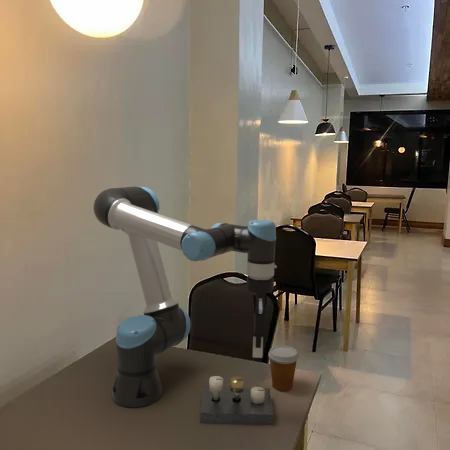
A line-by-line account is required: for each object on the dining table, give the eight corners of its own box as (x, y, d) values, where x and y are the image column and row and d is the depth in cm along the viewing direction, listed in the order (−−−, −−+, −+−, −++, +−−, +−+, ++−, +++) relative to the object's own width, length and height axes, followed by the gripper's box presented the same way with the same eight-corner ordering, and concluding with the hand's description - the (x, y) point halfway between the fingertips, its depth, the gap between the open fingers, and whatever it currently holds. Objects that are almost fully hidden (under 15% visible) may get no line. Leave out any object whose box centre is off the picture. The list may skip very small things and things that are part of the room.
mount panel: (200, 422, 122) (200, 412, 122) (204, 395, 136) (204, 386, 136) (272, 424, 122) (273, 414, 121) (269, 397, 136) (269, 388, 135)
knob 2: (250, 413, 127) (250, 393, 126) (250, 405, 131) (250, 386, 130) (264, 413, 127) (265, 393, 126) (263, 405, 131) (264, 386, 130)
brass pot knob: (229, 402, 127) (229, 382, 126) (229, 395, 131) (230, 376, 130) (243, 403, 127) (244, 383, 126) (243, 395, 131) (243, 376, 130)
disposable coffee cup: (296, 396, 137) (298, 359, 135) (265, 392, 139) (266, 356, 137) (297, 381, 146) (299, 346, 144) (269, 377, 148) (269, 343, 146)
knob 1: (208, 402, 127) (208, 382, 126) (209, 394, 131) (209, 375, 130) (222, 402, 127) (222, 382, 126) (223, 395, 131) (223, 375, 130)
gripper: (276, 283, 116) (272, 367, 120) (272, 270, 129) (269, 347, 133) (247, 282, 117) (244, 366, 120) (246, 269, 129) (243, 346, 133)
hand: (257, 356), depth 127 cm, fingers closed
